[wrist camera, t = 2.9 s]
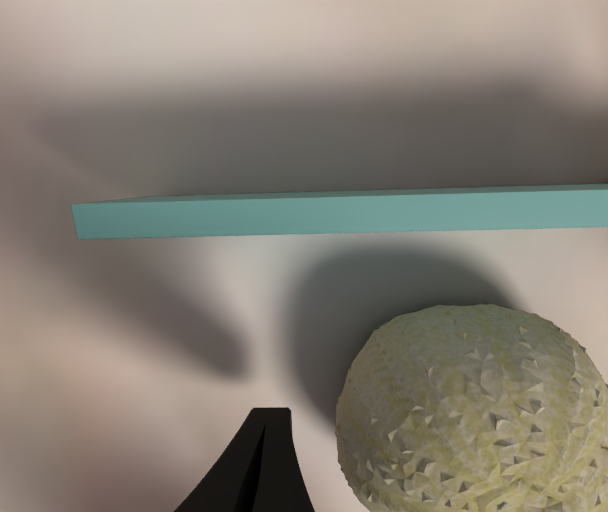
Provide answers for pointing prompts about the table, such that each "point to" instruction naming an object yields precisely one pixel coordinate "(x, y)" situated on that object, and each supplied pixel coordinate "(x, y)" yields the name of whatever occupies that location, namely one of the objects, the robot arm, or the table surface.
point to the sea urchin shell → (474, 416)
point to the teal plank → (346, 212)
